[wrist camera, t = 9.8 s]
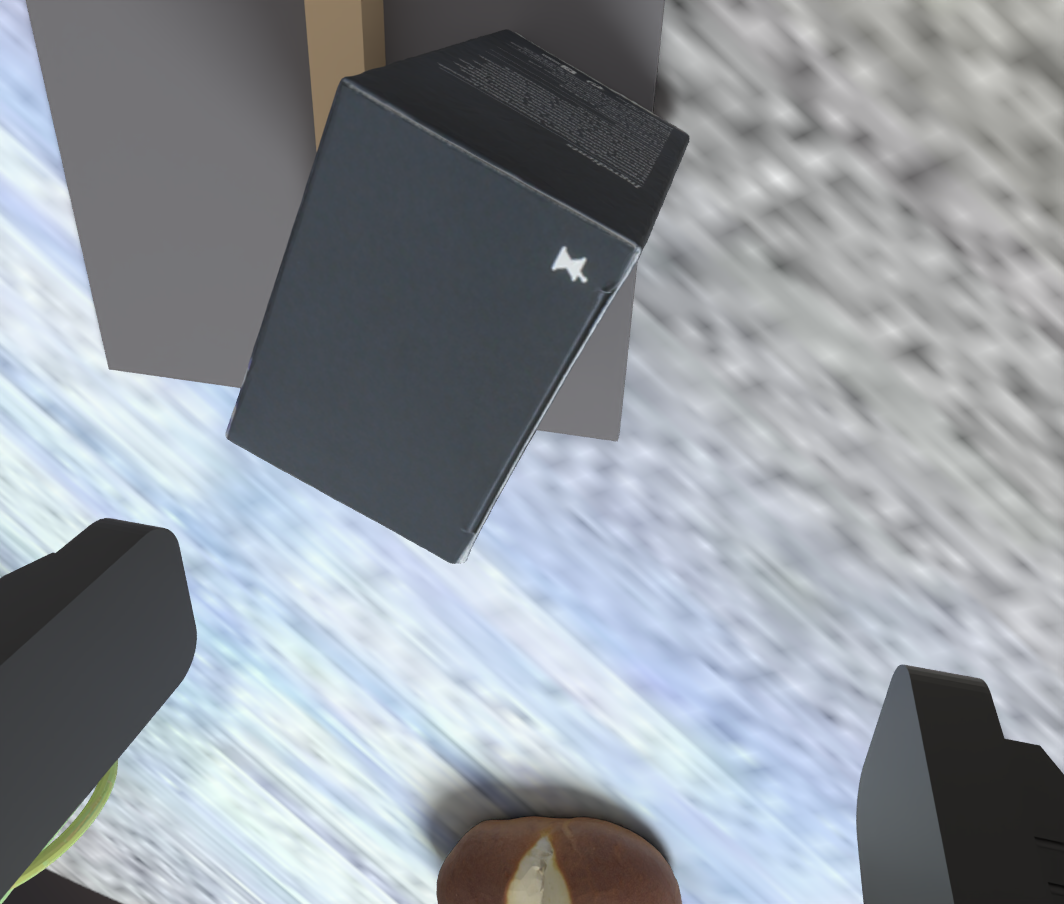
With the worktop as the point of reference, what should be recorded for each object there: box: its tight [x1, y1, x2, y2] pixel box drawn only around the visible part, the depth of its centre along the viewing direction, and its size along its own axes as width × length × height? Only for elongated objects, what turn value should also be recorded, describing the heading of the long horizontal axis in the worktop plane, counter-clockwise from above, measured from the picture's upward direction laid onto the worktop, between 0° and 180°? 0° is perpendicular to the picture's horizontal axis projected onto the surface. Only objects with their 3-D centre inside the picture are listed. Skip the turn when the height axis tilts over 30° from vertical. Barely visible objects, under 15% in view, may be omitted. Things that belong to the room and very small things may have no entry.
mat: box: [26, 0, 665, 441], centre depth 24 cm, size 18×16×2 cm
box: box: [226, 29, 689, 564], centre depth 20 cm, size 8×6×11 cm
